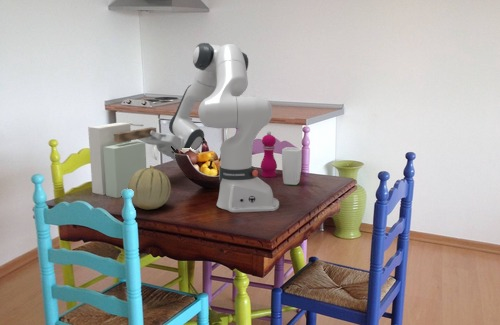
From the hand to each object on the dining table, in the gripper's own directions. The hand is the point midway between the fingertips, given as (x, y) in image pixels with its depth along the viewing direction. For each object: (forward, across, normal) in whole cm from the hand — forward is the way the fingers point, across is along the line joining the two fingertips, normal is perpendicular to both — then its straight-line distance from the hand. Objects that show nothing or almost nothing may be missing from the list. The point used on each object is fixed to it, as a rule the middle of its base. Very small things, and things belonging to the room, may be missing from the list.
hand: (146, 131), depth 214 cm
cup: (-42, +48, +2) cm, 63 cm away
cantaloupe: (+8, +23, +31) cm, 40 cm away
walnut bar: (+4, 0, +5) cm, 6 cm away
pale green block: (-1, 0, +26) cm, 26 cm away
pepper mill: (-48, +32, -1) cm, 58 cm away
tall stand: (-1, -8, +26) cm, 27 cm away
